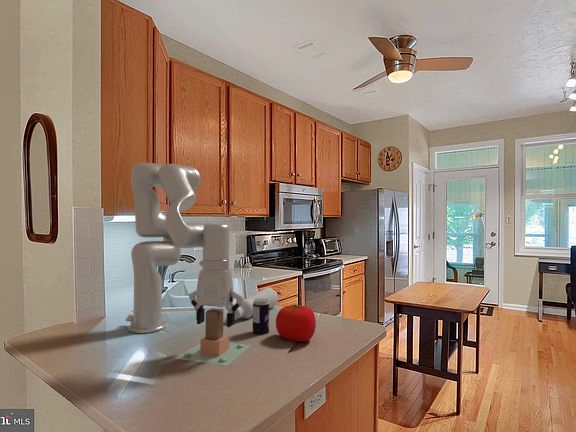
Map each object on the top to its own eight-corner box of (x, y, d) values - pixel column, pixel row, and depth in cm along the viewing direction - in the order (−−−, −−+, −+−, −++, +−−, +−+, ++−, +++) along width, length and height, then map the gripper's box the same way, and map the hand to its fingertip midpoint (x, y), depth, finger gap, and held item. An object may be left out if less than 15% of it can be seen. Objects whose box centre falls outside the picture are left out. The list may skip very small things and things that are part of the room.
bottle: (259, 297, 162) (221, 315, 134) (268, 282, 159) (231, 297, 132) (273, 310, 158) (237, 330, 131) (283, 295, 156) (248, 312, 129)
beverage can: (266, 338, 114) (266, 302, 115) (250, 336, 115) (250, 301, 116) (270, 332, 120) (271, 298, 120) (255, 331, 121) (255, 297, 121)
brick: (200, 353, 97) (200, 339, 98) (211, 346, 103) (211, 333, 103) (219, 356, 96) (219, 342, 96) (229, 349, 101) (229, 335, 101)
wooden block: (223, 336, 101) (224, 308, 101) (217, 340, 97) (217, 312, 97) (211, 334, 102) (211, 307, 102) (204, 339, 98) (205, 311, 98)
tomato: (321, 336, 116) (321, 302, 117) (306, 349, 104) (306, 311, 104) (287, 331, 122) (287, 298, 122) (269, 343, 109) (269, 306, 110)
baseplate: (174, 362, 94) (174, 356, 94) (205, 342, 109) (205, 337, 109) (226, 369, 89) (226, 363, 89) (251, 348, 105) (251, 343, 105)
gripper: (182, 266, 99) (182, 325, 99) (237, 268, 94) (236, 331, 93) (197, 263, 106) (196, 318, 106) (248, 265, 101) (247, 323, 101)
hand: (215, 324), depth 100 cm, fingers open, 9 cm apart
